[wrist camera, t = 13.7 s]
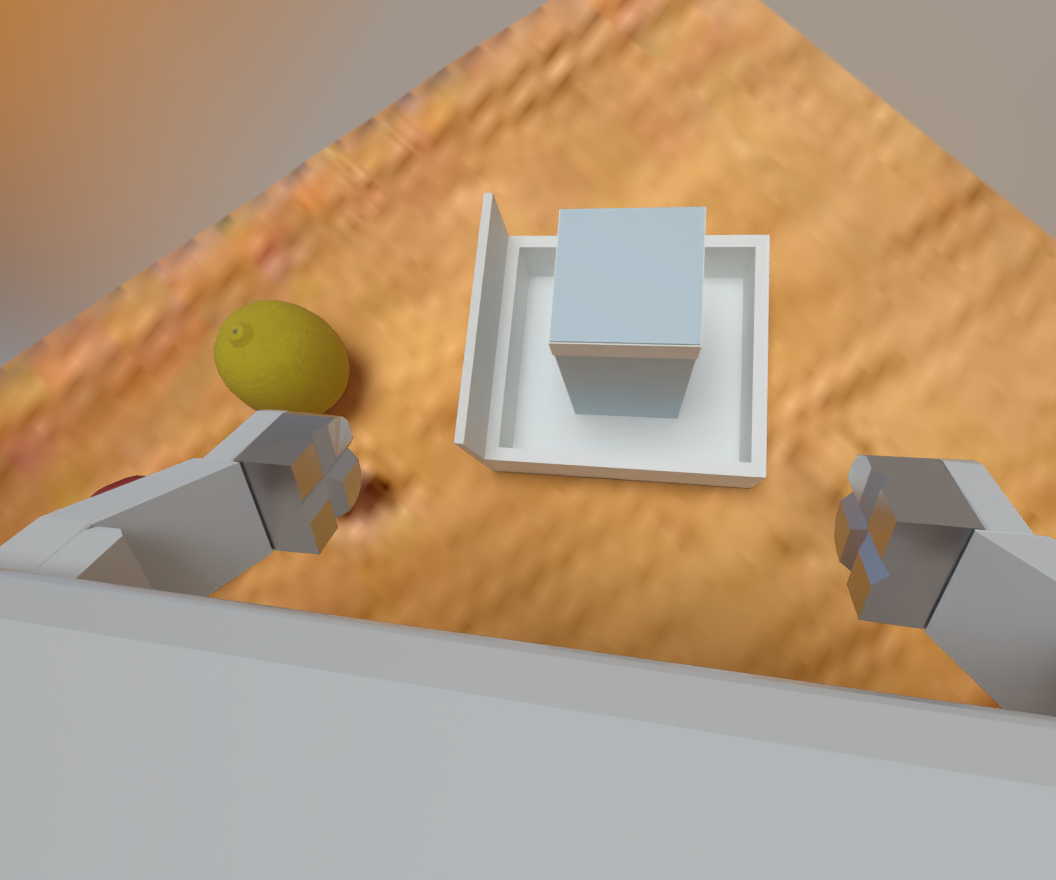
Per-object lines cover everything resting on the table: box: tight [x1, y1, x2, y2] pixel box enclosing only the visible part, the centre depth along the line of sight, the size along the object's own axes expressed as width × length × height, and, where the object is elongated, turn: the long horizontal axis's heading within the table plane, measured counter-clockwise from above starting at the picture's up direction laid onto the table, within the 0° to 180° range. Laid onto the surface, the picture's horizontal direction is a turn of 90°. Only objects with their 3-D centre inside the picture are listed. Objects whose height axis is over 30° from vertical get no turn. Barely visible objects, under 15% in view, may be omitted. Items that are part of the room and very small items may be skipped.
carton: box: [548, 207, 706, 419], centre depth 25 cm, size 5×5×10 cm
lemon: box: [214, 300, 350, 414], centre depth 29 cm, size 6×6×8 cm
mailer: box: [454, 193, 770, 488], centre depth 27 cm, size 11×13×7 cm
